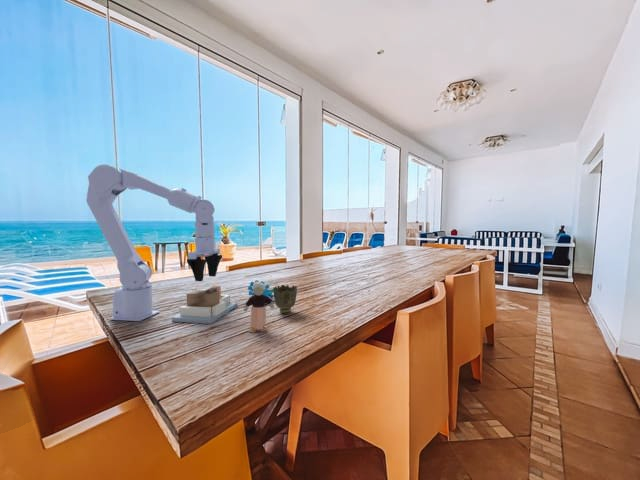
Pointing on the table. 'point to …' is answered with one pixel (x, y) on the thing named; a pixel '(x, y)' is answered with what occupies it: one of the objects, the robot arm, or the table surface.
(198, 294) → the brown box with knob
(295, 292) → the cup
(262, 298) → the grandmother figurine
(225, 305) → the jig
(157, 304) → the table surface
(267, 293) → the blue white lumpy piece
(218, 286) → the tail peg
